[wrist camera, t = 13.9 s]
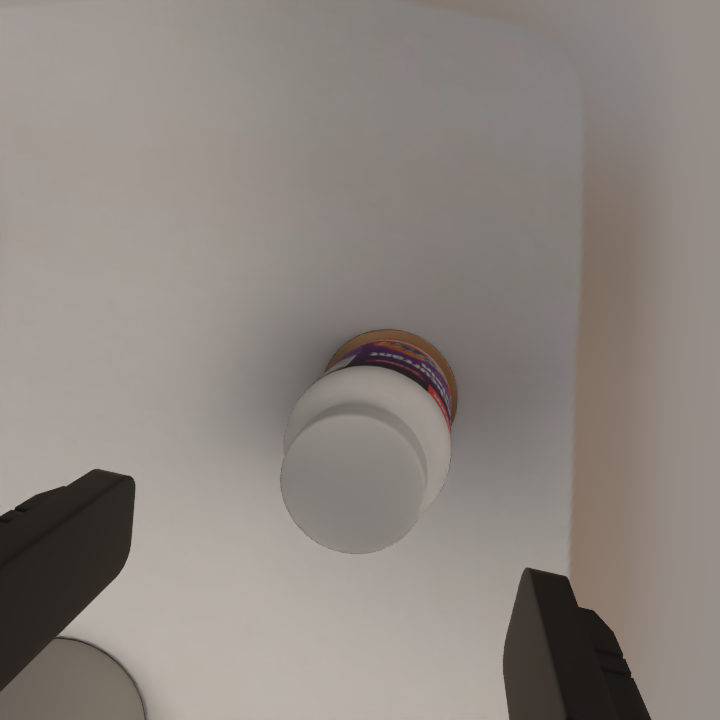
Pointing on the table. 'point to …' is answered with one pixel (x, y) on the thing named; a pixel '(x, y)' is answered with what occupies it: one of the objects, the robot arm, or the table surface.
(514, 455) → the table surface
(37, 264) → the table surface
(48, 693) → the mug
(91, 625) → the table surface
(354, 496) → the pill bottle
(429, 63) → the table surface
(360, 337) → the cork coaster
